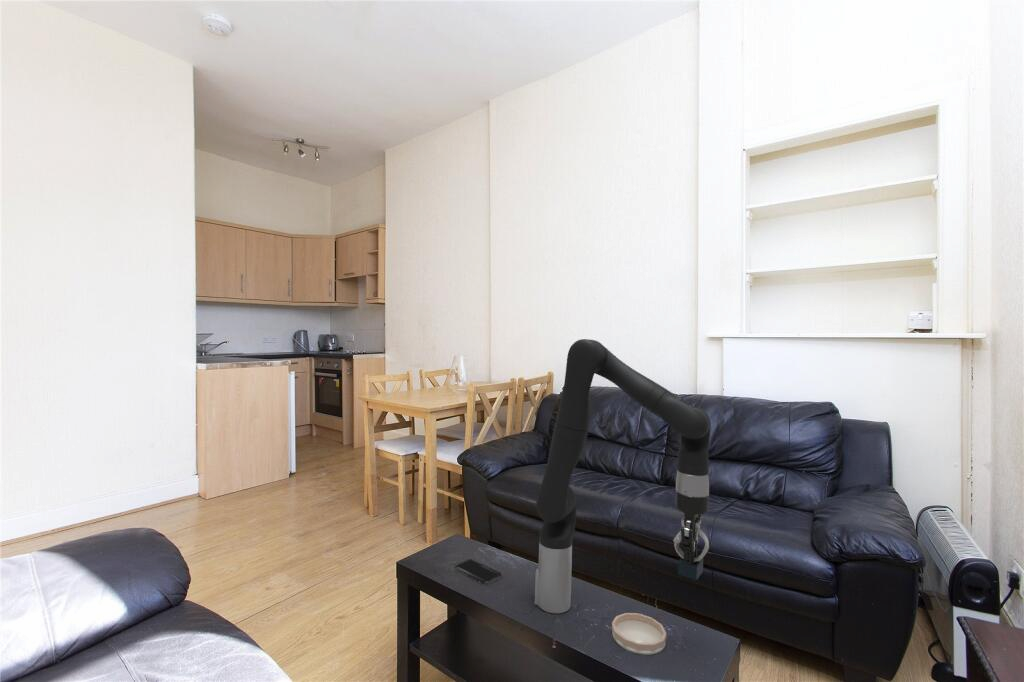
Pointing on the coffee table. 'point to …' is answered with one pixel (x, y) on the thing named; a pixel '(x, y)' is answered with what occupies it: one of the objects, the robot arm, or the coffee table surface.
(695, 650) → the coffee table surface
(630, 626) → the dish
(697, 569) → the watch
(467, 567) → the phone
